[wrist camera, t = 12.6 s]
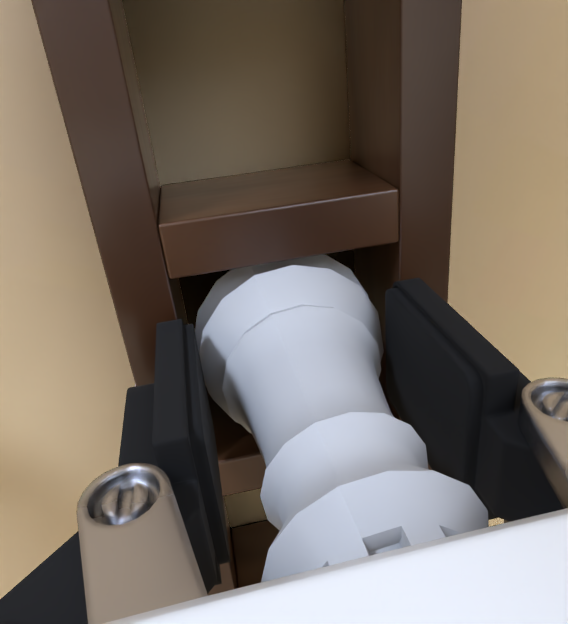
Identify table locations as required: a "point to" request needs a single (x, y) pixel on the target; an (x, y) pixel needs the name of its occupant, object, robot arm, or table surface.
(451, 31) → the piece stand
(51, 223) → the table surface
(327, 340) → the rook chess piece
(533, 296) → the table surface
